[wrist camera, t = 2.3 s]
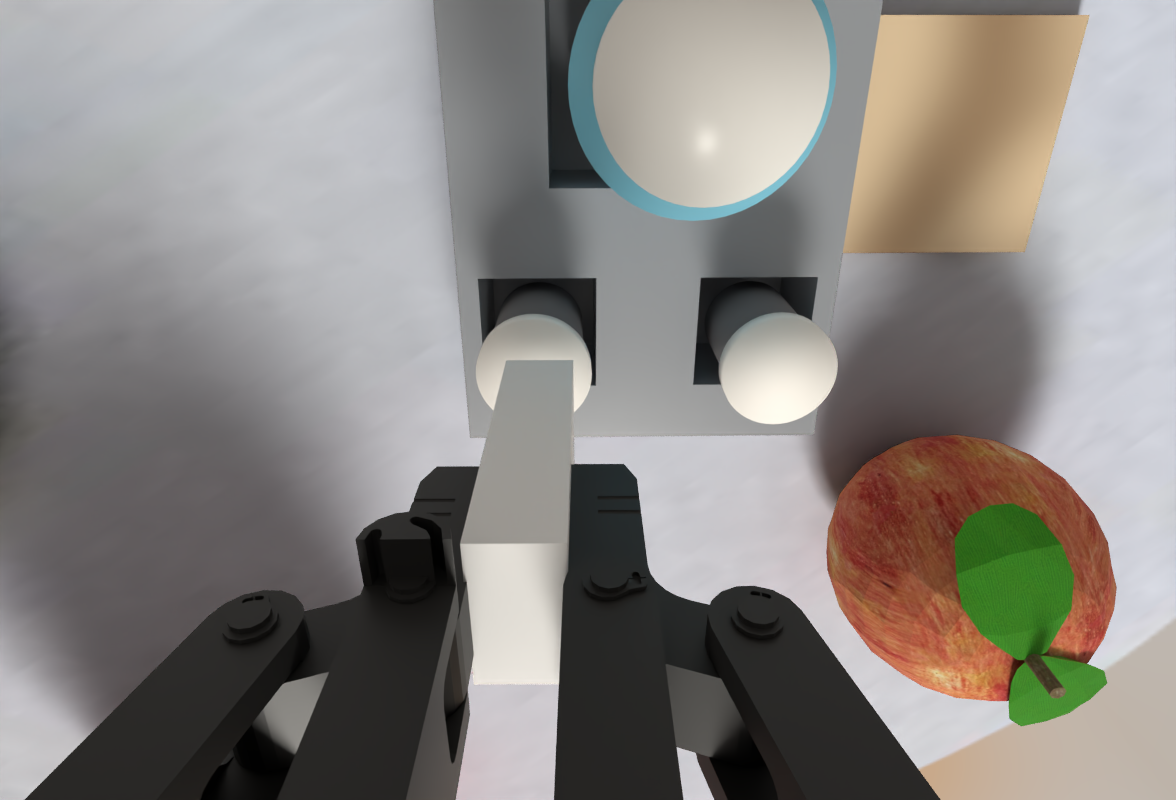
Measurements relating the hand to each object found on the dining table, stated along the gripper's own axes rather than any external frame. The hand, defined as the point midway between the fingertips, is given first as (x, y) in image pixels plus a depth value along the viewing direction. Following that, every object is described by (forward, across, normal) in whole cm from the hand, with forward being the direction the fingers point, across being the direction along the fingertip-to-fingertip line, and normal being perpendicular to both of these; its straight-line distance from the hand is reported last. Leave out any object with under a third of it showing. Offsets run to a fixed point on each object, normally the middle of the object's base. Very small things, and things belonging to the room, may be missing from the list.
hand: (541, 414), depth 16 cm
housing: (+9, +3, +4) cm, 11 cm away
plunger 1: (+6, 0, 0) cm, 6 cm away
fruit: (+10, +14, -8) cm, 19 cm away
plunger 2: (+6, +6, 0) cm, 9 cm away
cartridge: (+9, +3, +7) cm, 12 cm away
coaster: (+10, +12, +5) cm, 16 cm away
